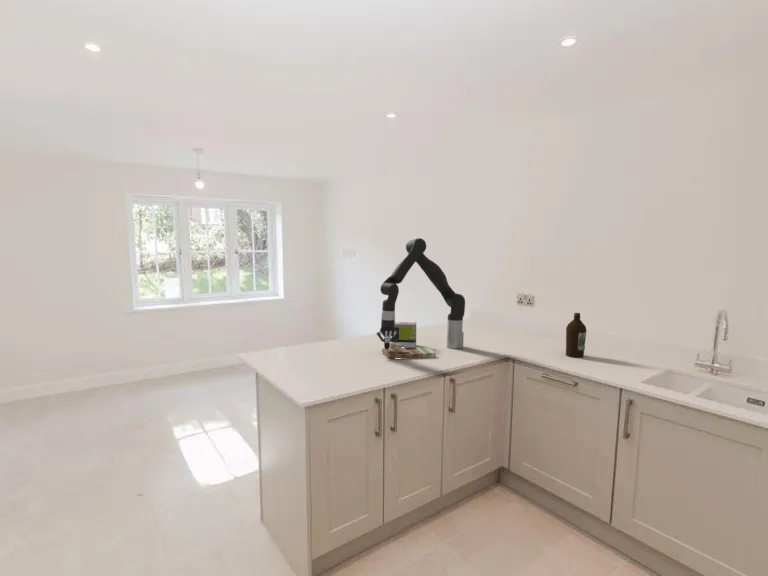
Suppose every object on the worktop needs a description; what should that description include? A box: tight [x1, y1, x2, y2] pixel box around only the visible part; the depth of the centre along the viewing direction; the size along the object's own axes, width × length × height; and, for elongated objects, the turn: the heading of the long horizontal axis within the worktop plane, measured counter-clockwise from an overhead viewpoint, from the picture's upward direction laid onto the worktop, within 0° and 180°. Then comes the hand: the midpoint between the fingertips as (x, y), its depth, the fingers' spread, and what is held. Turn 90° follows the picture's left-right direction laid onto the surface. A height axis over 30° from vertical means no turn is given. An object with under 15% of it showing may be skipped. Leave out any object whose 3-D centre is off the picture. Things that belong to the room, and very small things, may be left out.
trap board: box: [381, 346, 436, 360], centre depth 241 cm, size 27×15×2 cm, turn 104°
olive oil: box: [565, 312, 587, 359], centre depth 243 cm, size 11×11×25 cm
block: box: [389, 342, 399, 352], centre depth 238 cm, size 4×4×4 cm
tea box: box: [391, 321, 417, 347], centre depth 261 cm, size 15×10×15 cm, turn 84°
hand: (386, 348), depth 237 cm, fingers closed
